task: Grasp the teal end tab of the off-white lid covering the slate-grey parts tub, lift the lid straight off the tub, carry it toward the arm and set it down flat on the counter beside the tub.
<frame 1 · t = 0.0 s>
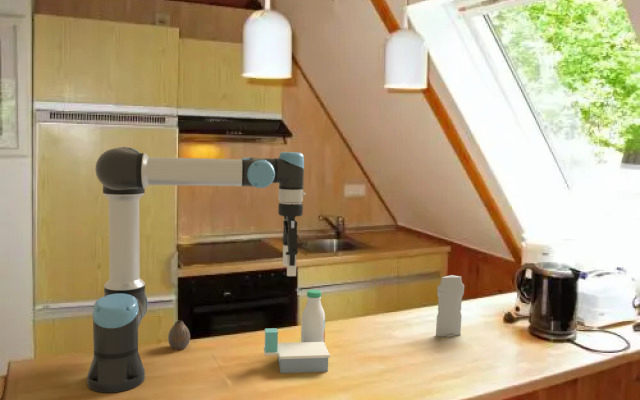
hand: (289, 270, 176), 28 cm above the worktop, fingers open, 13 cm apart
milk bottle: (312, 351, 185), on the worktop
tub: (302, 367, 172), on the worktop
metal part: (311, 364, 173), point 1 cm above the worktop, touching tub
tall pale column: (448, 335, 204), on the worktop
walnut part: (292, 366, 171), point 1 cm above the worktop, touching tub
lid: (302, 351, 171), point 5 cm above the worktop, touching tub
vase: (179, 348, 184), on the worktop
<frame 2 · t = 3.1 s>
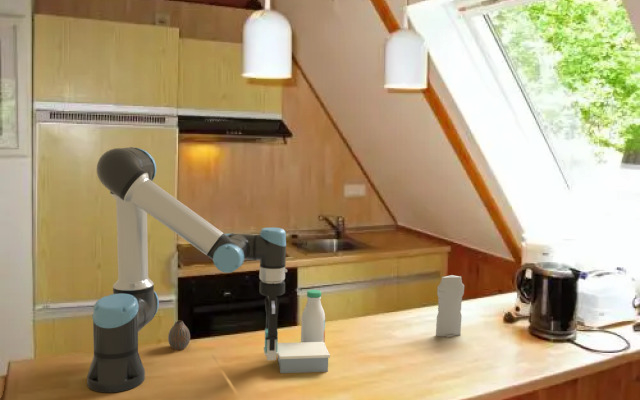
hand: (270, 356, 170), 4 cm above the worktop, fingers closed on lid, 5 cm apart
lid: (302, 351, 171), point 5 cm above the worktop, touching gripper, tub
everything else where it was.
when the fingers open (1 cm above the worktop, at t = 9.9 s): lid drops 2 cm, on the worktop.
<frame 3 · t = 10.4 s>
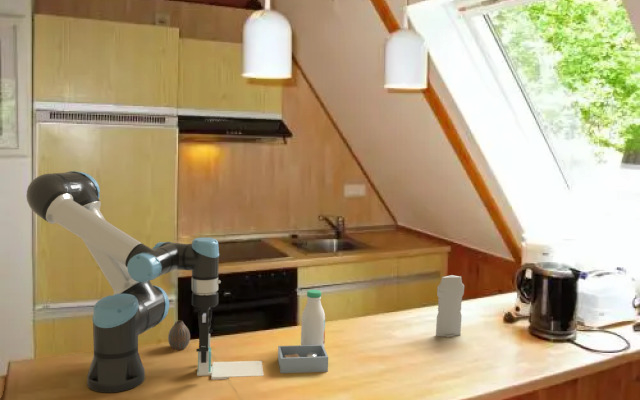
hand: (204, 363, 166), 3 cm above the worktop, fingers open, 12 cm apart
lid: (237, 371, 168), on the worktop
everything else where it was.
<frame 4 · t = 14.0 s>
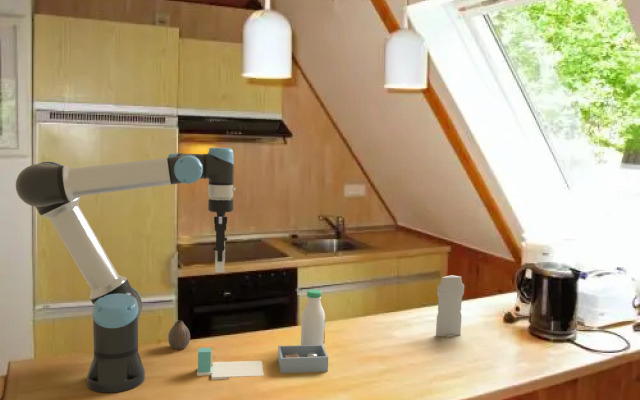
hand: (220, 266, 175), 29 cm above the worktop, fingers open, 13 cm apart
nothing on the worktop moved.
at the end: lid inside the target area (0.4 cm from its centre), on the worktop; lid touching worktop; lid tilted 0° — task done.
